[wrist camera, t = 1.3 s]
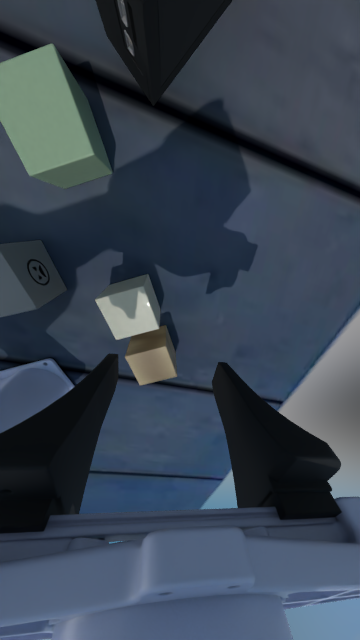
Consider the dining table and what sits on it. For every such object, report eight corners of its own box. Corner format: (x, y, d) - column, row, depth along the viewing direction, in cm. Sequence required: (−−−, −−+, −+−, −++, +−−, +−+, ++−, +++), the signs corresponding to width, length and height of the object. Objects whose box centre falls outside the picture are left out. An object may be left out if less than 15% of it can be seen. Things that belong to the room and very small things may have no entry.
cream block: (125, 319, 21) (116, 340, 17) (109, 284, 19) (94, 299, 15) (160, 309, 21) (159, 328, 17) (148, 273, 19) (143, 285, 15)
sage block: (64, 189, 15) (29, 176, 11) (31, 117, 13) (-27, 71, 9) (113, 173, 15) (94, 154, 11) (87, 98, 13) (52, 41, 9)
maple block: (144, 360, 24) (140, 385, 20) (132, 333, 22) (124, 356, 18) (175, 352, 24) (177, 376, 20) (166, 324, 22) (165, 346, 18)
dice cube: (40, 239, 17) (-5, 244, 12) (67, 289, 19) (37, 309, 15) (-10, 251, 17) (-72, 260, 12) (23, 300, 19) (-20, 321, 15)
